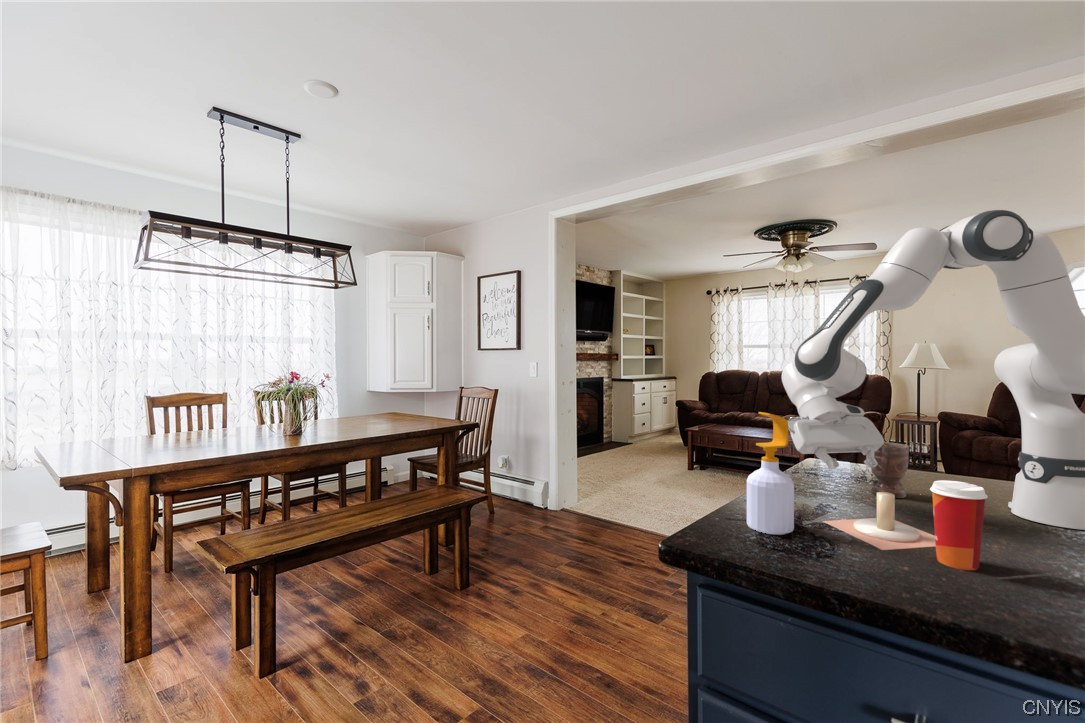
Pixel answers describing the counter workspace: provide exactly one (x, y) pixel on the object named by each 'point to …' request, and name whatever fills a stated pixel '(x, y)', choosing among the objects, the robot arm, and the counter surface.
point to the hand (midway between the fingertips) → (853, 466)
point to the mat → (848, 527)
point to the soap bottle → (771, 487)
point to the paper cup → (958, 523)
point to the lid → (886, 523)
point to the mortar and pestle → (890, 468)
